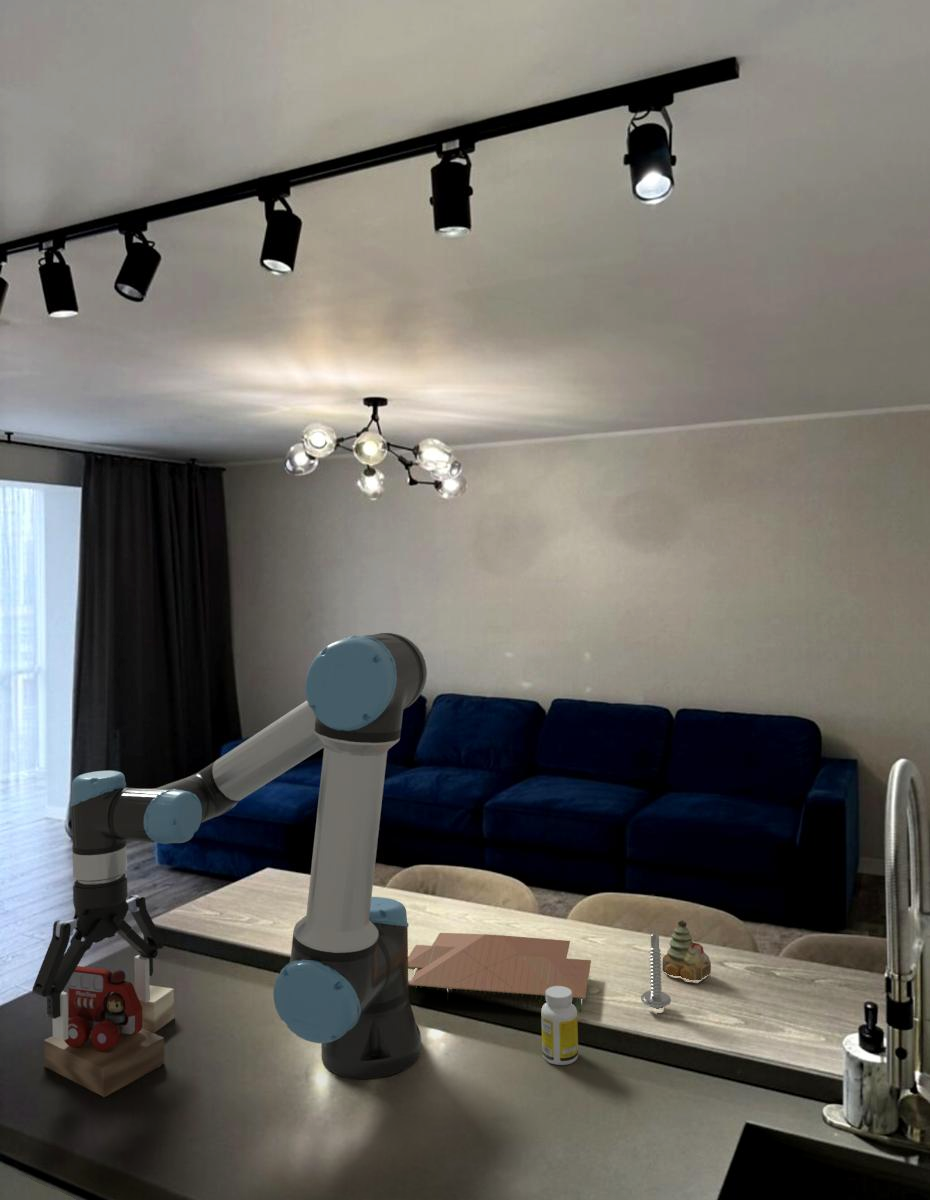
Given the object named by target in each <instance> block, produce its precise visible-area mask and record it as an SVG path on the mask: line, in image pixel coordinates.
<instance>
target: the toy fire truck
mask: <svg viewBox="0 0 930 1200" xmlns="http://www.w3.org/2000/svg"><path fill="white" fill-rule="evenodd" d="M126 978H127V977H126V972H125V971H124V970H123V969H116V970H115V971H113V972H112V971H111V970H110V969H105V968H97V967H89V966H80V965H77V967H76V969H75V971H74V972H73V974H72V976H71V977H70V979H69V981H68V983H67V984H66V987H67V989H68V1039H66V1040H64V1041H65V1042H66V1044H68V1045H69V1046H71V1047H79V1046H81V1045H82V1044H84V1043H85V1042H86V1041H87V1040H88V1039H89V1037H90V1033H91V1041H92V1044H93V1045H94V1047H95V1048H96V1049H97V1050H99V1051H101V1052H107V1051H109V1050H111V1049H112V1048H113V1047H115V1046H116V1045H117V1043H118V1041H119V1035H121V1034H125V1035H135V1034H137V1033H138V1032H140V1031H141V1029H142V1006H141V1004H140V1001H139V999H138V997H137V994H136V992H135V986H134V985H133V983H132V982H131V981H129V980H126ZM91 1030H92V1032H91Z"/></svg>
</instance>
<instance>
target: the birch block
mask: <svg viewBox="0 0 930 1200" xmlns="http://www.w3.org/2000/svg"><path fill="white" fill-rule="evenodd" d="M139 1001H140V1004H141V1006H142V1029H144V1030H147V1031H149V1032H151V1033H154V1034H156V1032H158V1031H159V1030H161V1028H163V1027H164V1026H166V1025H167V1024H168V1023H170V1022H171V1021H172V1020H174V1019H175V989H174V988H171V987H164V986H159V985H151V984H150V1001H147V1002H144V1001H142V1000H139Z"/></svg>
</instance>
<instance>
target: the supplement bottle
mask: <svg viewBox="0 0 930 1200" xmlns="http://www.w3.org/2000/svg"><path fill="white" fill-rule="evenodd" d="M544 1000H545V1001H546V1002H547V1003H546V1002H544V1003H543V1004H542V1008H541V1010H540V1011H541V1014H540V1015H541V1016H540V1017H541V1052H542V1057H543V1059H544V1060H545V1061H546V1062H547V1063H549V1064H552V1065H556V1066H557V1065H558V1066H566V1065H570V1064H573V1063H575V1062H576V1061H577V1059H578V1057H579V1036H578V1035H579V1032H578V1008H577V1006H575V1004H572V1003H573V998H572V991H571V990H570V989H569V988H567V987H563V986H553V987H550V988H548V989H547V990H546V996H545V997H544Z"/></svg>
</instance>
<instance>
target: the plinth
mask: <svg viewBox="0 0 930 1200" xmlns="http://www.w3.org/2000/svg"><path fill="white" fill-rule="evenodd" d="M91 1032H92V1030H91ZM43 1061H44V1065H43V1066H44V1068H47V1069H49V1070H51V1071H52V1072H55V1073H56V1074H58V1075H60V1076H62V1077H64V1078H65V1079H68V1080H70V1081H71V1082H74V1083H75V1084H78V1085H79V1086H82V1087H83V1088H85V1089H87V1090H89V1091H91V1092H93V1093H96V1094H98V1095H99V1096H101V1097H103V1098H106V1097H107V1096H110V1095H111V1094H112V1093H115V1092H117V1091H119V1090H120V1089H122V1088H124V1087H126V1086H128V1085H129V1084H131V1083H133V1082H135V1081H136V1080H139V1079H140V1078H142V1077H145V1074H146V1075H147V1073H148V1074H150V1073H152V1072H153V1071H155V1070H156V1068H157V1069H159V1068H160V1067H162V1066H163V1065H162V1064H164V1065H165V1037H163V1036H161V1035H159V1034H157V1033H153V1032H149V1031H147V1030H144V1029H141V1031H140V1032H138V1033H137V1034H135V1035H125V1034H121V1035H119V1041H118V1043H117V1045H116V1046H115V1047H113V1048H112V1049H111V1050H109V1051H107V1052H101V1051H99V1050H97V1049H96V1048H95V1047H94V1045H93V1044H92V1041H91V1033H90V1037H89V1039H88V1040H87V1041H86V1042H85V1043H84V1044H82V1045H81V1046H79V1047H71V1046H69V1045H68V1044H66V1042H65V1041H63V1040H61V1039H59V1038H56V1037H54V1036H53V1035H52V1036H49V1037H48V1038H45V1039H43ZM161 1065H162V1066H161ZM159 1066H160V1067H159ZM154 1069H155V1070H154ZM152 1070H153V1071H152Z"/></svg>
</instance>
